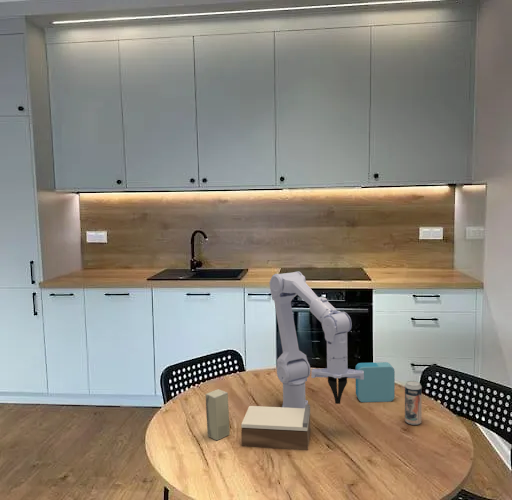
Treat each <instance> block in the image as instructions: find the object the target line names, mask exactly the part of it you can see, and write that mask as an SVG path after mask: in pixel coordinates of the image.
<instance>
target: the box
mask: <svg viewBox="0 0 512 500" xmlns="http://www.w3.org/2000/svg"><path fill="white" fill-rule="evenodd" d="M228 394H229V393H228V392H227V391H224V390H221V389H219V388H218V389H215V390H213V391H209V392H207V393H205V411H206V429H207V437H209V438H211V439H213V440H215V441H219V440H221V439H223V438H225V437H228V436H229V435H230V429H231V428H230V415H229V412H230V410H229V395H228Z"/></svg>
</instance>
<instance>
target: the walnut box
mask: <svg viewBox="0 0 512 500" xmlns="http://www.w3.org/2000/svg"><path fill="white" fill-rule="evenodd" d="M310 436H311V415H310V416H309V423H308V430H307V431H295V430H277V429H258V428H241V446H242V447H249V448H251V447H253V448H270V449H283V450H284V449H286V450H299V451H308V450H309V442H310Z"/></svg>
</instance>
